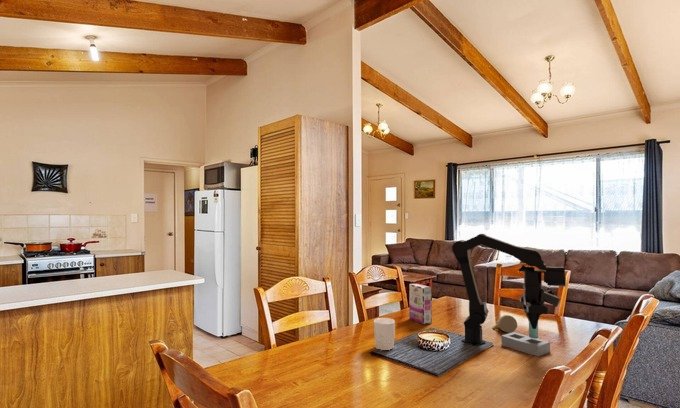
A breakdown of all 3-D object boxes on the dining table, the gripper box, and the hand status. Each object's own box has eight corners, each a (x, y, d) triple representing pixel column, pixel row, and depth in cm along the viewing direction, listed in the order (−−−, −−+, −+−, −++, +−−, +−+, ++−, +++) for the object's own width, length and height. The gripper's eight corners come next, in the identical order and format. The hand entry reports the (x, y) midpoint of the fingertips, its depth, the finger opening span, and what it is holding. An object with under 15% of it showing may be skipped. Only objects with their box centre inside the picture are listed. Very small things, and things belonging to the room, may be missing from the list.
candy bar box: (432, 323, 174) (432, 287, 174) (423, 325, 172) (423, 288, 172) (417, 317, 184) (417, 282, 184) (408, 318, 182) (408, 283, 182)
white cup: (394, 352, 139) (394, 324, 139) (372, 350, 140) (372, 323, 141) (395, 344, 147) (395, 318, 147) (375, 343, 148) (375, 317, 148)
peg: (535, 339, 137) (535, 310, 137) (527, 336, 140) (526, 309, 140) (539, 337, 139) (539, 309, 139) (531, 335, 141) (531, 307, 142)
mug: (507, 326, 169) (516, 309, 165) (511, 343, 161) (521, 325, 156) (490, 322, 170) (498, 305, 165) (493, 338, 161) (502, 320, 157)
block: (537, 356, 134) (537, 346, 134) (501, 345, 146) (501, 335, 146) (550, 351, 138) (550, 342, 138) (513, 340, 150) (513, 331, 150)
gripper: (565, 290, 128) (565, 337, 128) (551, 280, 146) (551, 322, 146) (528, 288, 131) (528, 334, 131) (519, 279, 149) (519, 319, 149)
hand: (533, 327), depth 139 cm, fingers closed on peg, 3 cm apart
